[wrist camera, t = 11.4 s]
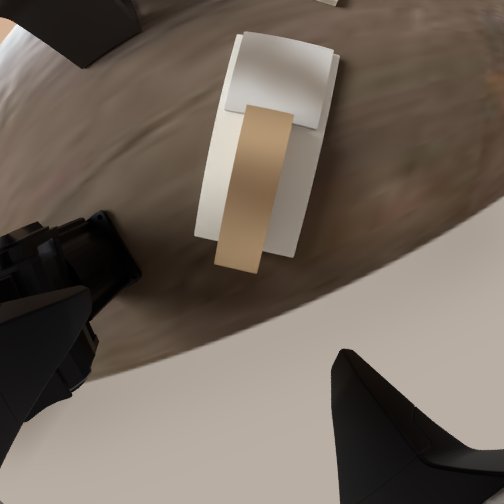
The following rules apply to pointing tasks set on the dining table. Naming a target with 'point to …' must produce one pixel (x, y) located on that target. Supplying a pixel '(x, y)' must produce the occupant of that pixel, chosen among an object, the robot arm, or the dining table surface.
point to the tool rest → (291, 178)
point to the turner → (266, 134)
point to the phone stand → (75, 24)
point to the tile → (329, 2)
